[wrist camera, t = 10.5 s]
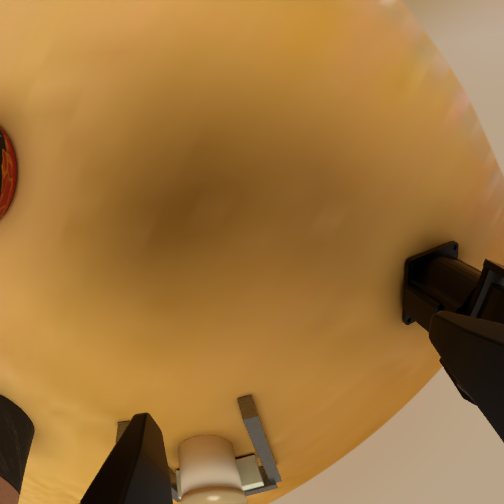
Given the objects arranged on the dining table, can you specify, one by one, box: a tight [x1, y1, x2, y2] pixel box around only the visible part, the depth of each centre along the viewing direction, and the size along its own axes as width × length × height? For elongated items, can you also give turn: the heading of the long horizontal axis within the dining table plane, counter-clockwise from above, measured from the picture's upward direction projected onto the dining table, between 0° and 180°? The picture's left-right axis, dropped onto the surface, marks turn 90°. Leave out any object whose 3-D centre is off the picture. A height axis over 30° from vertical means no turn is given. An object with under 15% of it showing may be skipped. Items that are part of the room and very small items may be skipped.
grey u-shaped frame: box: [116, 395, 282, 502], centre depth 24 cm, size 12×15×3 cm
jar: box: [178, 435, 248, 504], centre depth 22 cm, size 6×6×7 cm
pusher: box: [176, 455, 264, 499], centre depth 25 cm, size 9×6×4 cm, turn 102°
